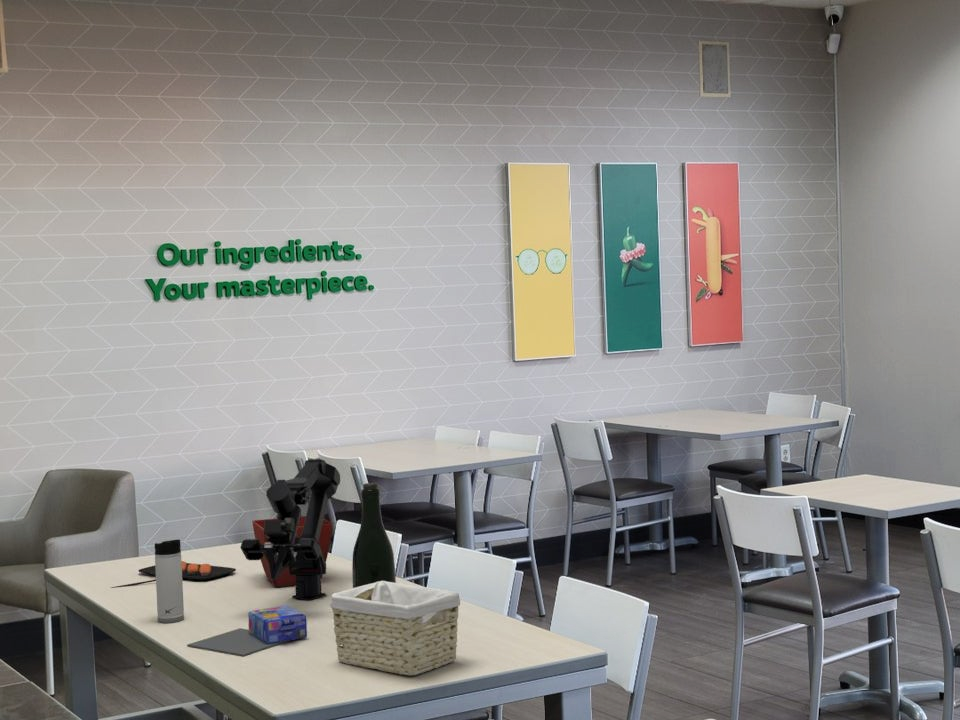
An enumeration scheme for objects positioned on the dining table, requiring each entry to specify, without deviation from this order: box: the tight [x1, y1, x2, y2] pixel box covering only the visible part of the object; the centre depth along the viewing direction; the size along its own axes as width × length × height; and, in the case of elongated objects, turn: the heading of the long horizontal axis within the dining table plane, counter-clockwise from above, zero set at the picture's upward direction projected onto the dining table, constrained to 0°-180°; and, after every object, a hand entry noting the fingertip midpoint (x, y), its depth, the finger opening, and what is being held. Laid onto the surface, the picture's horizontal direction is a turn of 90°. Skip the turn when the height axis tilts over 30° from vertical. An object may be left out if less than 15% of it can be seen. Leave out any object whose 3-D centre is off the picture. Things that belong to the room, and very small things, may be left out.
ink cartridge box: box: [247, 605, 308, 644], centre depth 270 cm, size 10×6×14 cm
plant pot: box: [252, 515, 333, 588], centre depth 332 cm, size 19×19×17 cm
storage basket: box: [329, 581, 461, 676], centre depth 247 cm, size 24×16×15 cm
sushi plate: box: [109, 560, 237, 589], centre depth 342 cm, size 29×30×4 cm
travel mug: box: [154, 538, 185, 624], centre depth 291 cm, size 6×7×20 cm
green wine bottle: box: [351, 482, 397, 600], centre depth 282 cm, size 10×10×33 cm
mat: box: [186, 627, 292, 658], centre depth 267 cm, size 16×18×1 cm
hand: (273, 578), depth 285 cm, fingers closed
